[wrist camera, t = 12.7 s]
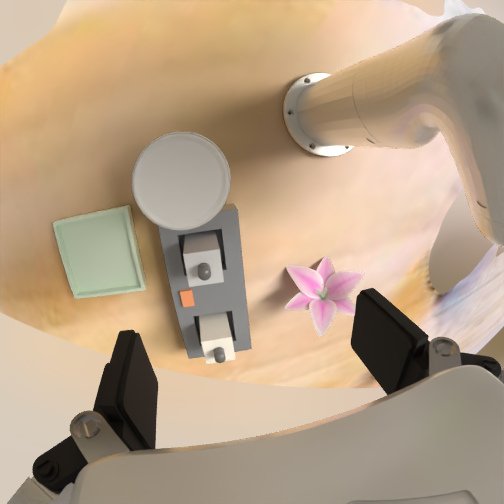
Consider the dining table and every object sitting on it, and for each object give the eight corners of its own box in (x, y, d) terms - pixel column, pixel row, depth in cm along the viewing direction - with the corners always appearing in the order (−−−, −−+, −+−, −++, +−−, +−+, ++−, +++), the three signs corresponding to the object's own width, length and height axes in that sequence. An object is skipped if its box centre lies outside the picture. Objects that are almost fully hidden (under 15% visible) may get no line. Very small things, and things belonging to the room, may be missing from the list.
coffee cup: (156, 213, 36) (139, 240, 25) (145, 144, 32) (122, 141, 21) (224, 202, 37) (237, 224, 26) (216, 133, 34) (226, 124, 23)
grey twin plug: (214, 229, 37) (221, 254, 29) (217, 256, 39) (225, 288, 30) (185, 233, 37) (182, 259, 28) (189, 260, 38) (189, 293, 29)
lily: (354, 262, 46) (374, 258, 37) (343, 330, 45) (361, 341, 35) (287, 251, 47) (292, 244, 37) (275, 321, 46) (278, 331, 36)
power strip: (160, 214, 36) (156, 221, 32) (233, 204, 37) (238, 210, 34) (188, 344, 44) (188, 360, 40) (247, 335, 45) (252, 350, 42)
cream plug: (224, 305, 42) (233, 344, 33) (228, 326, 43) (237, 366, 34) (198, 309, 41) (201, 349, 32) (203, 330, 43) (207, 371, 34)
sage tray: (130, 204, 35) (127, 207, 33) (147, 284, 39) (145, 290, 37) (57, 219, 33) (52, 223, 31) (78, 293, 37) (74, 299, 35)
